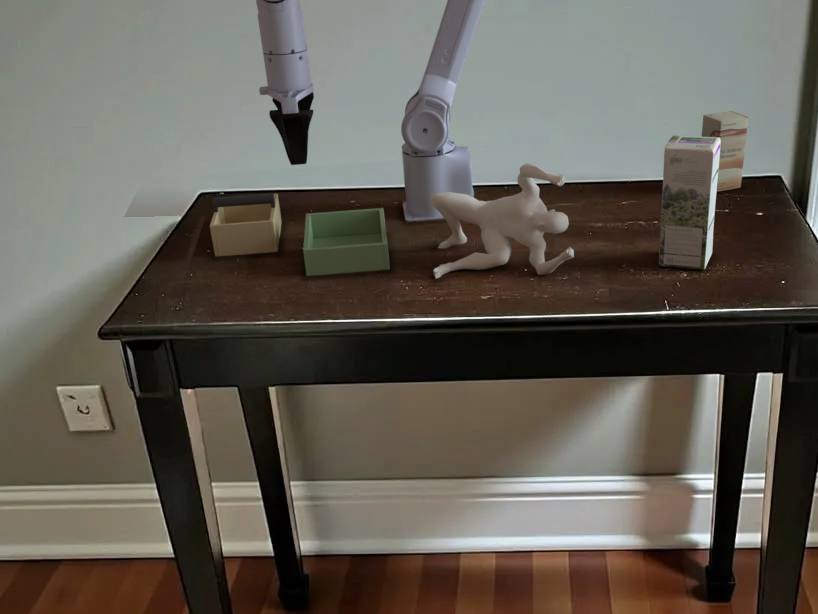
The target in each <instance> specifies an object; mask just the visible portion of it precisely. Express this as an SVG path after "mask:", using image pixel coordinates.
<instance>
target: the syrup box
mask: <svg viewBox="0 0 818 614" xmlns="http://www.w3.org/2000/svg"><path fill="white" fill-rule="evenodd" d="M720 144H721V140H720V138H719V137H701V136H695V135H694V136H692V135H672V136H671V137H670V139H669V140H668V141H667V143H666V145H665V146H664V152H663V174H662V193H661V212H660V233H659V235H660V238H659V254H658V266H659V267H667V268H679V269H690V270H703V271H704V270H706V267H707V265H708V263H709V261H710V259H711V257H712V255H713V246H714V245H713V244H714V229H715V228H714V226H715V212H716V203H717V201H716V200H717V192H716V191H717V180H718V169H719V158H720Z"/></svg>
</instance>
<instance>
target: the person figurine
mask: <svg viewBox="0 0 818 614" xmlns="http://www.w3.org/2000/svg"><path fill="white" fill-rule="evenodd" d="M534 179H537V180H542V181H547V182H549V183H551V184H552V185H555V186H557V187H563V185H564V184H565V182H566V178H565V176H564V175H563V174H556V173H552V172H549V171H545V170H543V169H542V168H541V167H538V166H537V165H535V164H534V163H533V164H532V163H531V162H530V163H529V162H528V163H525V164H523V165H521V166H520V167H519V174H518V176H517V180H516V182H517V185H518V186H519V187H520V188H521V192H519V193H516V194H513V195H509V196H503V197H500V198H497V199H494V200H486V201H484V200H479V199H477V198H476V197H474V198H473V197H471V196H469V195H466V194H460V193H453V192H445V193H433V195H432V196H431V198H430V203H431V204H432V206H434V207H435V208H436V209H437V210H438V211H439V212H440V213H441V215H442V216H443V217H444V219H443V220H445V221H446V222H447V225H448V226H449V228H450V231H451V235H450V236H449V237H448V238H447V239H445V240H444V241H442V242H440V243H439V245H438V246H437V249H449V248H450V247H452V246H454V245H455V246H456V245H464V244H466V243H467V242H468V238H467V236H466V235H465V233H464V231H463V228H462V225H461V221H462V222H465V223H468V224H472V225H476V226H478V227H479V229H480V230H481V232H480V237H481V241H482V243H483V246H484V250H485V252H486V253H484V252H475V251H474V252H473V253H471V254H469V255H467V256H465V257H462V258H460V259H458V260H456V261H453V262H451V261H450V262H447V263H442V264H439V266H437V267H434V269H433V270H432V273H433V277H435V280H437V279H439V278H441V277H442V276H443V275H446V274H448V273H451V272H454V271H460V270H475V271H481V270H488V269H492V268H496V267H499V266H503V265H505V264H507V263H508V261H509V259H510V257H511V255H512V251H513V248H512V243H511V239H513V240H515V241H516V242H517V243H518V244H520V245H522V246H525V247H527V248H528V249H529V255H528V262H529V264H530V265H531V266H532V267H533V268H534V269H535V271H536V274H537V275H538V276H546V275H550V274H552V273H553V272H554V271H555V270H556V269H557V268H558V267H559V266H560V265H562V264H564V262H565V261H568V260H570V259H573V258H575V250H574V249H573V248H572V247H571V246H568V248H566V249H565V250H564V251H563V252H561V253H560V254H559V255H558V256H557V257H553V258H552V259H550V260H547V261H546V259H545V252H546V250H547V243H546V240H545V238H544V234H545V233H548V234H554V235H557V234H562V233H564V232H565V231H567V229H568V228H569V225H570V221H569V217H568V215H567V214H566V213H564V212H562V211H556V209H555V208H554V209H550V210H548V207H547V205H545V203H544V202H543V200H542V199H541V198H540V191H541V189H540V187H539V185H537V184H536V183H535V181H534Z"/></svg>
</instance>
